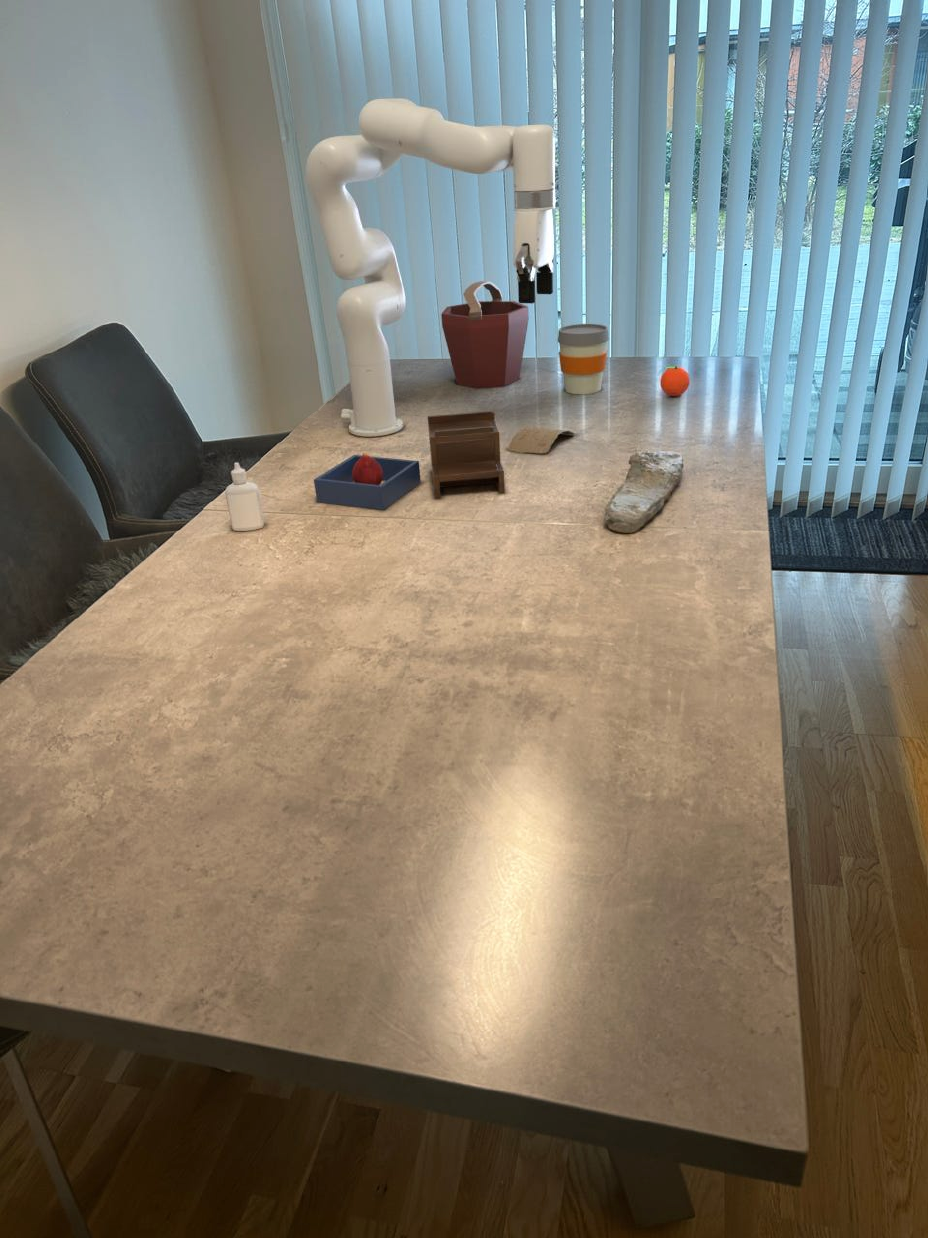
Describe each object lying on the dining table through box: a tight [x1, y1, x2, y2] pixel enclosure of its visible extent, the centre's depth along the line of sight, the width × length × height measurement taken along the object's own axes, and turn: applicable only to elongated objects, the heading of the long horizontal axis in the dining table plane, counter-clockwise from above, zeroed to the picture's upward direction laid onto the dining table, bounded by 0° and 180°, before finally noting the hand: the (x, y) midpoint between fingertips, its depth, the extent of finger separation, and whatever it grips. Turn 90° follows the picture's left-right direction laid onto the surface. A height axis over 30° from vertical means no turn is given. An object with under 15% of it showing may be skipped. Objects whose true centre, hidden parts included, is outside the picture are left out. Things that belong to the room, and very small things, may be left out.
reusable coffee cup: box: [557, 323, 610, 395], centre depth 222 cm, size 13×13×15 cm
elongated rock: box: [603, 450, 685, 534], centre depth 159 cm, size 35×5×10 cm
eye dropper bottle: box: [224, 462, 265, 532], centre depth 156 cm, size 4×6×12 cm
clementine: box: [657, 365, 691, 397], centre depth 214 cm, size 8×7×7 cm
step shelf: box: [427, 410, 506, 500], centre depth 169 cm, size 15×13×12 cm
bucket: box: [440, 280, 530, 389], centre depth 235 cm, size 24×22×25 cm
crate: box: [313, 454, 422, 511], centre depth 169 cm, size 15×15×4 cm
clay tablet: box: [507, 425, 576, 454], centre depth 190 cm, size 14×10×3 cm
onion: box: [352, 451, 383, 485], centre depth 169 cm, size 6×6×8 cm
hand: (536, 298), depth 172 cm, fingers open, 9 cm apart
